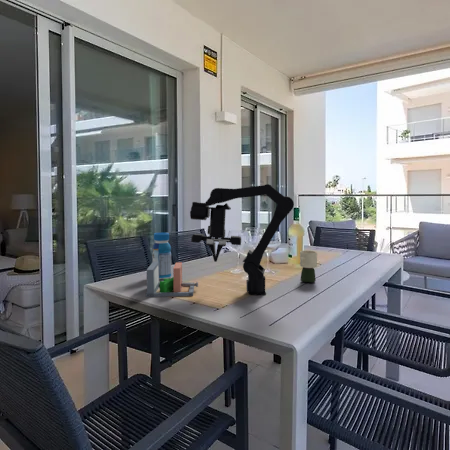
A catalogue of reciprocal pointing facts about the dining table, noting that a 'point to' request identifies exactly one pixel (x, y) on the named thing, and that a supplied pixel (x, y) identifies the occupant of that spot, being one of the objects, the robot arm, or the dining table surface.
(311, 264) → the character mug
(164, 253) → the beverage bottle
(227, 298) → the dining table surface
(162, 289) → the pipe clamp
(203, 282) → the dining table surface
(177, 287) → the sliding jaw
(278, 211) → the robot arm
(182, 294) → the vise body
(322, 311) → the dining table surface
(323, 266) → the dining table surface
